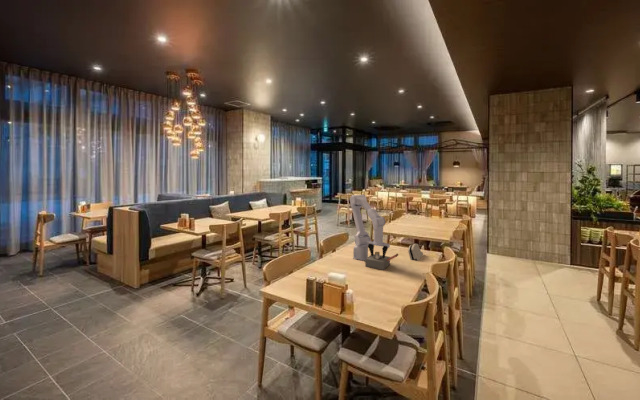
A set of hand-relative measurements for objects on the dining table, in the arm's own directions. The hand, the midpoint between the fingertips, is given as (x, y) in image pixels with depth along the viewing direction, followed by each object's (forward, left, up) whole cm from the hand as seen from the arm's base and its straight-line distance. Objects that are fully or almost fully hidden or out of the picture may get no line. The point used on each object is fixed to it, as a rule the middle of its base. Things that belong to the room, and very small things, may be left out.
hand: (377, 256), depth 196 cm
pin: (0, 0, -5) cm, 5 cm away
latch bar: (+10, 0, +1) cm, 10 cm away
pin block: (0, 0, -6) cm, 6 cm away
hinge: (+16, +30, -6) cm, 35 cm away
